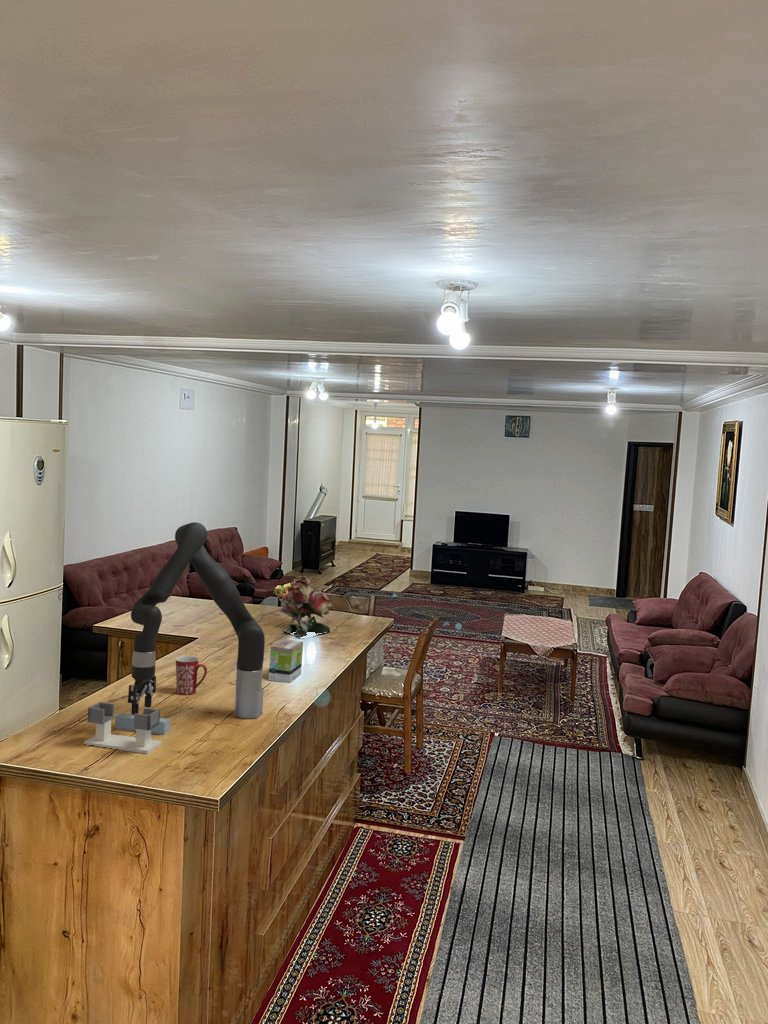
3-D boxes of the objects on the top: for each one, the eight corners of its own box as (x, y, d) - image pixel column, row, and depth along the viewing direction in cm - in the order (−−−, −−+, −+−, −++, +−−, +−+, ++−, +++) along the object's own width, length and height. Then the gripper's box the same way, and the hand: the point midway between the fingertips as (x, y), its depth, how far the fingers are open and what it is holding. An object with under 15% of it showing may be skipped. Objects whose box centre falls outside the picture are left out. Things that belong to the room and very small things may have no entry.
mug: (169, 694, 308) (171, 660, 307) (180, 688, 317) (181, 654, 316) (200, 698, 305) (201, 663, 304) (210, 691, 314) (211, 658, 313)
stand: (161, 744, 257) (162, 708, 256) (147, 753, 248) (149, 717, 247) (99, 735, 261) (100, 700, 260) (83, 744, 252) (84, 709, 252)
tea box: (290, 683, 332) (292, 648, 331) (267, 680, 334) (269, 646, 333) (301, 674, 346) (303, 640, 345) (279, 671, 348) (281, 638, 347)
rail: (169, 732, 268) (169, 719, 268) (164, 735, 265) (164, 722, 265) (120, 725, 272) (120, 712, 272) (114, 729, 269) (115, 715, 268)
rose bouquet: (337, 631, 433) (339, 576, 431) (303, 640, 409) (306, 582, 406) (299, 623, 447) (302, 570, 445) (265, 632, 422) (268, 575, 420)
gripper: (143, 670, 260) (140, 718, 261) (164, 659, 273) (161, 706, 275) (122, 667, 261) (119, 715, 262) (144, 657, 275) (142, 703, 276)
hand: (141, 710), depth 268 cm, fingers open, 8 cm apart
